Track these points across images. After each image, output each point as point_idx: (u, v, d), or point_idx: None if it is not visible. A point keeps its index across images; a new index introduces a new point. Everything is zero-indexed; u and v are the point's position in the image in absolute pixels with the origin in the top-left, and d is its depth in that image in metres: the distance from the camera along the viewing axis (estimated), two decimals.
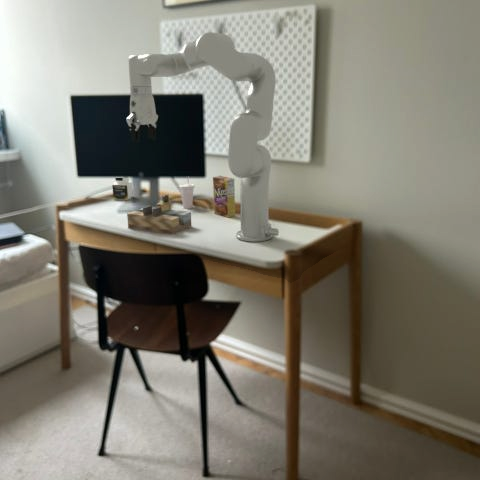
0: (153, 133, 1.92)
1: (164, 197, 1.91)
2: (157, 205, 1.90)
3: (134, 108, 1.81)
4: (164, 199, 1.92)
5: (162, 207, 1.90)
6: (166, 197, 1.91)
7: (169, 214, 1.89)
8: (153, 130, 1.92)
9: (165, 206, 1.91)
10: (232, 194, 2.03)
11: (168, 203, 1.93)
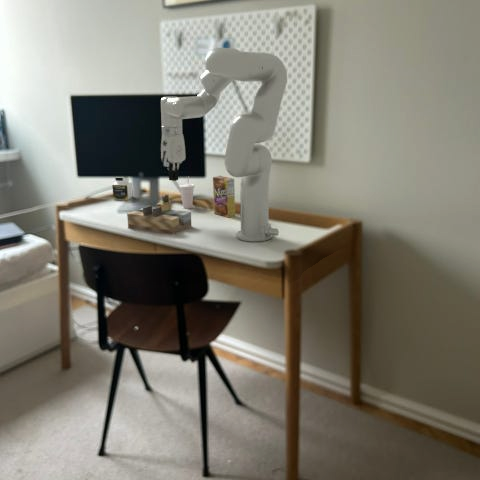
0: None
1: (164, 197, 1.91)
2: (157, 205, 1.90)
3: (165, 147, 1.88)
4: (164, 199, 1.92)
5: (162, 207, 1.90)
6: (166, 197, 1.91)
7: (169, 214, 1.89)
8: None
9: (165, 206, 1.91)
10: (232, 194, 2.03)
11: (168, 203, 1.93)
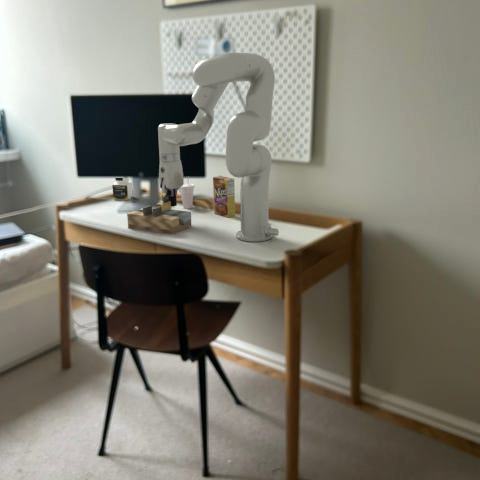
0: None
1: (164, 197, 1.91)
2: (157, 205, 1.89)
3: (163, 174, 1.89)
4: (164, 199, 1.91)
5: (162, 207, 1.89)
6: (166, 197, 1.91)
7: (169, 214, 1.89)
8: None
9: (165, 206, 1.91)
10: (232, 194, 2.03)
11: (168, 203, 1.93)
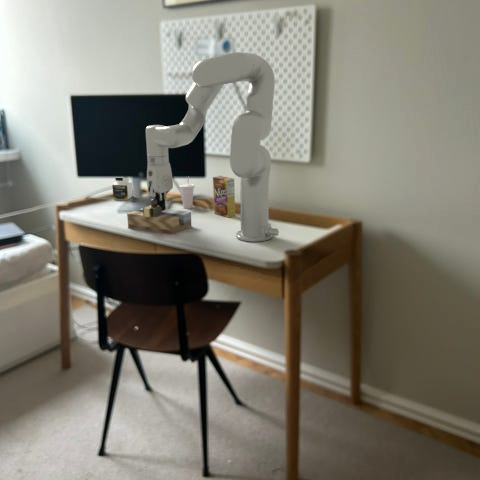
0: None
1: (152, 201, 1.85)
2: (145, 209, 1.83)
3: (151, 178, 1.83)
4: (152, 203, 1.85)
5: (150, 211, 1.83)
6: (154, 201, 1.85)
7: (169, 214, 1.89)
8: None
9: None
10: (232, 194, 2.03)
11: None
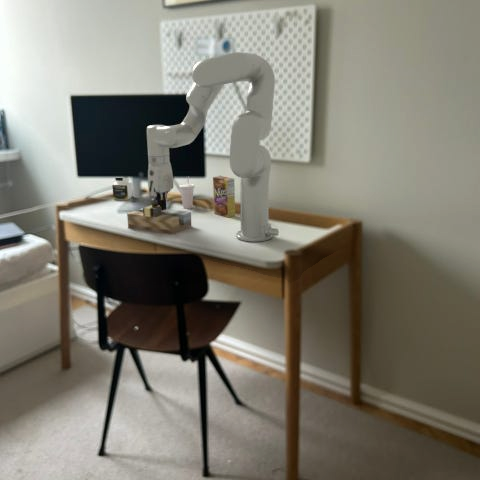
0: None
1: (153, 201, 1.85)
2: (145, 209, 1.84)
3: (152, 177, 1.83)
4: (153, 203, 1.86)
5: (150, 211, 1.84)
6: (155, 201, 1.85)
7: (169, 214, 1.89)
8: None
9: None
10: (232, 194, 2.03)
11: None
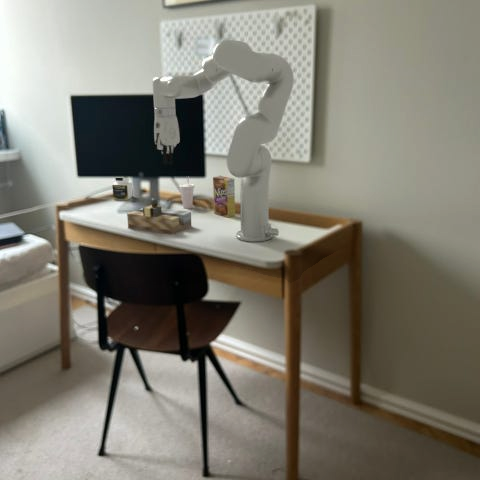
0: None
1: (153, 201, 1.85)
2: (145, 209, 1.84)
3: (158, 129, 1.83)
4: (153, 203, 1.86)
5: (150, 211, 1.84)
6: (155, 201, 1.85)
7: (169, 214, 1.89)
8: None
9: None
10: (232, 194, 2.03)
11: None
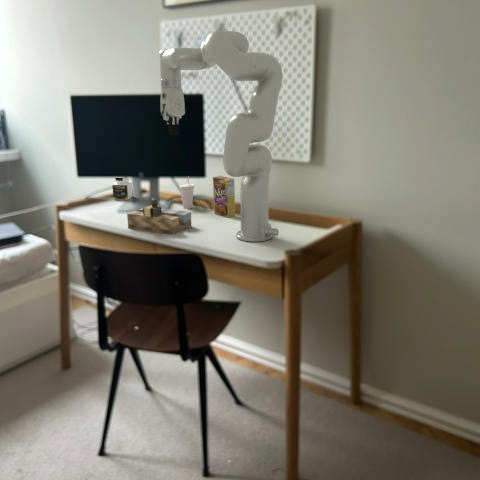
0: None
1: (153, 201, 1.85)
2: (145, 209, 1.84)
3: (165, 100, 1.89)
4: (153, 203, 1.86)
5: (150, 211, 1.84)
6: (155, 201, 1.85)
7: (169, 214, 1.89)
8: None
9: None
10: (232, 194, 2.03)
11: None
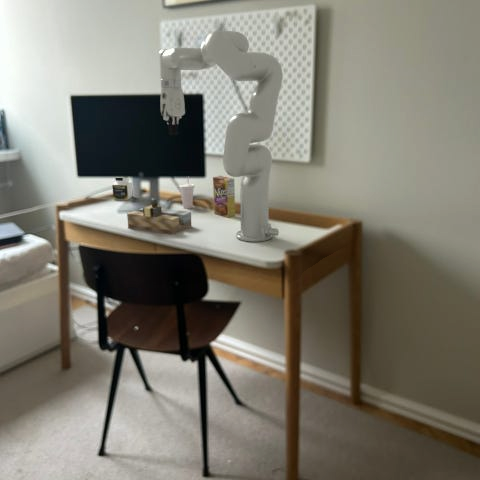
0: None
1: (153, 201, 1.85)
2: (145, 209, 1.84)
3: (165, 100, 1.89)
4: (153, 203, 1.86)
5: (150, 211, 1.84)
6: (155, 201, 1.85)
7: (169, 214, 1.89)
8: None
9: None
10: (232, 194, 2.03)
11: None
